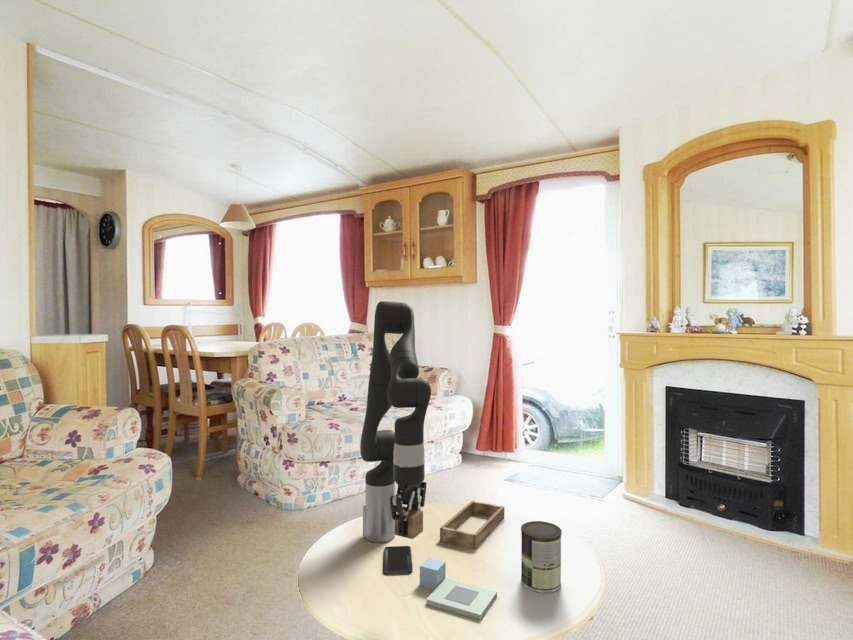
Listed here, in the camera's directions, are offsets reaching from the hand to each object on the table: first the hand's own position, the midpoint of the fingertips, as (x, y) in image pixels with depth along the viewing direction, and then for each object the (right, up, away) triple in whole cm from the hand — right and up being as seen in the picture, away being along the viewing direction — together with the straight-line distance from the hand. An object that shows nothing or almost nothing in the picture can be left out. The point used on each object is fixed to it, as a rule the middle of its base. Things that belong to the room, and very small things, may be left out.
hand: (408, 530), depth 122 cm
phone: (-4, -18, +21) cm, 28 cm away
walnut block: (0, 0, 0) cm, 0 cm away
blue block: (+6, -17, +9) cm, 21 cm away
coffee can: (+34, -18, +9) cm, 40 cm away
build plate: (+13, -17, +1) cm, 22 cm away
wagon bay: (+20, -17, +43) cm, 50 cm away
